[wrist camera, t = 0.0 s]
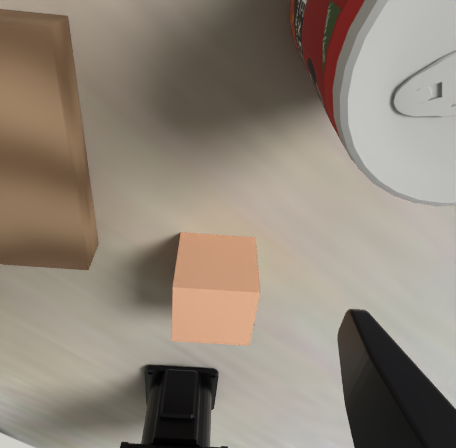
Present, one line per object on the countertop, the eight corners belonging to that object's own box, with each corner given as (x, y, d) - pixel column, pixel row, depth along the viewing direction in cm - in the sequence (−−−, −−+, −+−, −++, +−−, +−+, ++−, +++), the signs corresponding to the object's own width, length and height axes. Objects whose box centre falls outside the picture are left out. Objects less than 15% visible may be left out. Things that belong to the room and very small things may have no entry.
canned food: (256, -28, 18) (283, 33, 9) (441, -164, 15) (728, -260, 6) (329, 112, 22) (395, 249, 13) (486, 24, 19) (700, 122, 10)
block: (246, 288, 30) (249, 345, 26) (179, 284, 30) (171, 341, 26) (255, 237, 27) (260, 292, 23) (180, 231, 27) (172, 286, 23)
